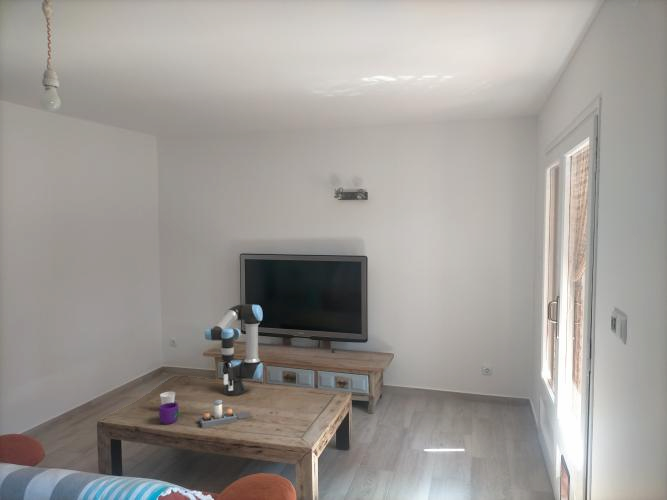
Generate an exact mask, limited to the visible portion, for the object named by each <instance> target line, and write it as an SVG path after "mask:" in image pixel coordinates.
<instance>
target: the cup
mask: <svg viewBox="0 0 667 500" xmlns="http://www.w3.org/2000/svg"><path fill="white" fill-rule="evenodd" d="M159 396H160V402H161V405H162V404H166V403H174V402H175V399H176V398H175V397H176V392H174V391H165V392H161V393H160V394H159Z"/></svg>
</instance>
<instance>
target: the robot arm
mask: <svg viewBox="0 0 667 500" xmlns="http://www.w3.org/2000/svg"><path fill="white" fill-rule="evenodd" d="M263 317H264V316H263V309H262V307H261V306H260V305H259V304H236V305H234V306H232V307H230V308H229V309H227V310H226V311H225V313H224V315H223V316H222V318H221V319H220V320H219V321H217V322H216V324H215V325H214V326H213V327H211V328H207V329H205V330H204V331H205V332H204V339H205V340H206V341H210V342H211V341H214V342H215V341H216V342H218V341H221V349H220V351H221V361H223V365H222V366H223V367H222V373H223V385H224V389H223V394H224V395H226V396H240V395H242V394H244V393H246V388H245V385H244V383H243V380H259V379H260V378H261V376H262V374H263V372H264V371H263V369H264V364H263V362H261V359H260V358H259V330H258V329H259V325H260V324H261V321H263ZM236 321H242V322H243V324H244V325H245V356H246V357H245V359H244V360H242V359H235V354H234V353H235V345H234V344H235V341H237V340H238V339H240V337H241V334H242V333H241V331H240V329H239V328H236V327H234V328H230V326H231V325H232V324H233V323H235V322H236Z"/></svg>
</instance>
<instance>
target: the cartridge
mask: <svg viewBox="0 0 667 500" xmlns="http://www.w3.org/2000/svg"><path fill="white" fill-rule="evenodd" d="M222 413H223V400H222V399H215V400H214V401H213V414H214V420H215V419H221V418H222Z"/></svg>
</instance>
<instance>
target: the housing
mask: <svg viewBox="0 0 667 500" xmlns="http://www.w3.org/2000/svg"><path fill="white" fill-rule="evenodd" d="M235 414H236V413H235V412H234V411H233V410H232V415H230V416H227V415H226V411H224V412H222V418H221V419H215V420H214V413H213V414H210V419H207V420H205V419H204V415H201V416H199V417H198V418H199V420H198V421H199V424H200V425H201V427H202V429H204V428H209V427H210V428H211V427H216V426H221V425H226V424H232V423H238V418H237V416H236V415H235Z"/></svg>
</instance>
